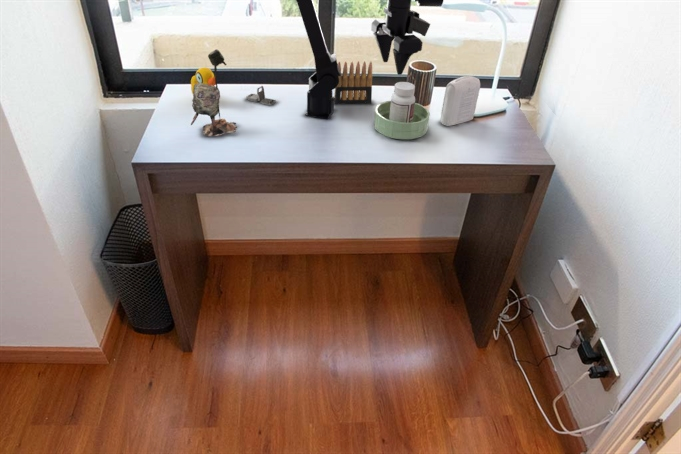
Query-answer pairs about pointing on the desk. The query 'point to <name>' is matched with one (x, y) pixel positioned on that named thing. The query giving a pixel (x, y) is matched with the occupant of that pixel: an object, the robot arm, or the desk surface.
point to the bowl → (399, 128)
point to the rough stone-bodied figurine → (211, 102)
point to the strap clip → (260, 97)
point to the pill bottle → (402, 103)
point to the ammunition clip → (354, 85)
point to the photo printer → (460, 100)
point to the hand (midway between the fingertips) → (392, 68)
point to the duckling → (203, 77)
